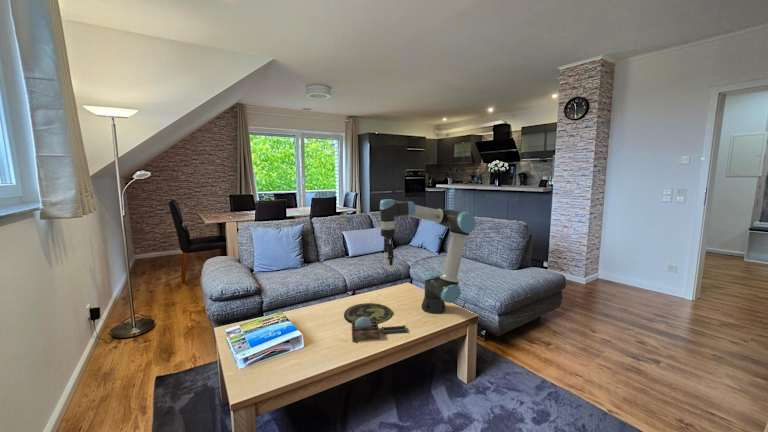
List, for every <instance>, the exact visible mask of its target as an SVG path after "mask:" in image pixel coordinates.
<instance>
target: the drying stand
mask: <svg viewBox="0 0 768 432" xmlns="http://www.w3.org/2000/svg"><path fill="white" fill-rule="evenodd" d="M381 331H382V335H393V334H407V333H408V329H407V327H406V325H405V324H403V325H396V326H395V325H394V326H381Z"/></svg>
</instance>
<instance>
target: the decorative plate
mask: <svg viewBox="0 0 768 432" xmlns="http://www.w3.org/2000/svg"><path fill="white" fill-rule="evenodd" d="M393 315H394V313H393V310H392V309H391V308H390V307H389V306H387V305H384V304H380V303H374V302H369V303H367V302H366V303H358V304H354V305H351V306H350V307H348V308H347V309H346V310H345V311H344V313H343V318H344V320H345V321H346V322H348V323H349V324H350V325H352V322H356V321H357V320H358V319H359V318H361V317H366V318H368V319H370V321H377V323H378V325H379V324H383V323H385V322H387V321H389V320H390V319H392V317H393Z"/></svg>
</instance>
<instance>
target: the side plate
mask: <svg viewBox="0 0 768 432" xmlns="http://www.w3.org/2000/svg"><path fill="white" fill-rule="evenodd" d="M369 327H372V323H371V321H370V319H368V318H366V317H361V318H359V319H358V320H357V321H356V322H355V328H369Z"/></svg>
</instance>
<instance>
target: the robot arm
mask: <svg viewBox="0 0 768 432" xmlns="http://www.w3.org/2000/svg"><path fill="white" fill-rule="evenodd" d="M379 202H380V203H379V213H380V217H379V218H380V222H379V225H380V236H381V237H383V256H384V265H386V264H387V268H388V269H387V270H388V272H394V271H395V270H394V260H395V255H394V245H393V241H394V240H393V239H392V237H395V236H396V229H395V227H396V222H395V218H396V217H410V218H415V219H420V220H424V221H429V222H433V223H434V224H437V225H439V226H443V227H446V228H448V229H449V230H448V232H449V234H450V239H449V242H448V247H447V248H448V249H447V253H446V256H445V257H446V258H445V262H444V266H443V271H442V273H441V272H429V273H426V274H425V275H424V297H423V300H422V302H421V309H422V310H423V311H424V313H425V312H426V313H429V314H442V313H444V312H445V311H446V308H447V307H446V303H448V304H452V303H453V304H454V303H455V302H456V301H458V299H460V296H461V293H462V290H461V287H460V286H459V282H460V280H459V279H458V274H459V271H460V266H461V260H462V257H463V251H464V247H465V243H466V239H467V238H468V237H469V236H470V233H472V232H473V231H474V230H475V228H476V219H475V217H474V215H473V214H472V213H470V212H467V211H463V210H456V209H443V208H437V209H436V208H431V207H427V206H422V205H417V204H415V202H413V201H403V200H402V201H401V200H395V199H391V198H387V199H386V198H385V199H381V200H380V201H379Z"/></svg>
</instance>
